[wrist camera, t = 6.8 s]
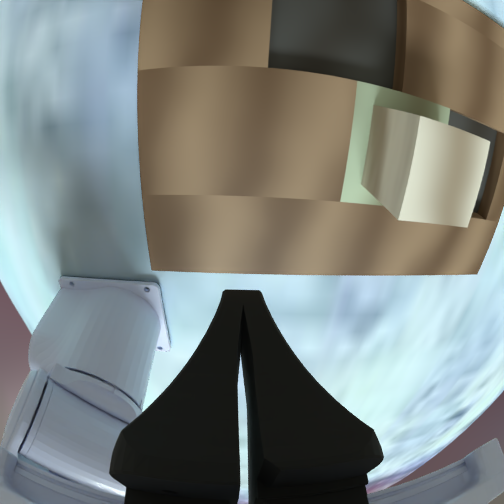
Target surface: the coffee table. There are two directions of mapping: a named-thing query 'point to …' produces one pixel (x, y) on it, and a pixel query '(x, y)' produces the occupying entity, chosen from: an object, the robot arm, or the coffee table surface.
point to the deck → (306, 131)
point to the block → (423, 167)
